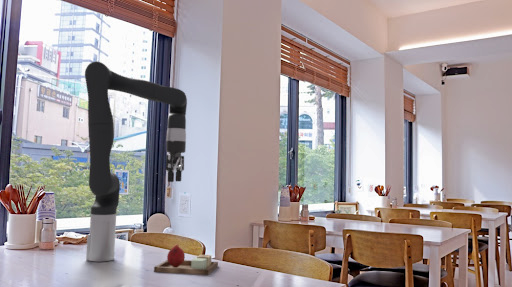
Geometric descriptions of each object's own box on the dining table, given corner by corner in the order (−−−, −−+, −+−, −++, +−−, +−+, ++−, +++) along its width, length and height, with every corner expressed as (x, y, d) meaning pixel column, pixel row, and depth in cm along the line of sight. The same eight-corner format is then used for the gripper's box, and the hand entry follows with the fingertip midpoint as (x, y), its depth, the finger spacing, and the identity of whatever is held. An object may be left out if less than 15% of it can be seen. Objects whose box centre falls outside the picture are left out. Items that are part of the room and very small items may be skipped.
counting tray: (153, 276, 141) (154, 266, 141) (168, 267, 153) (168, 259, 154) (207, 279, 138) (207, 270, 138) (217, 270, 150) (217, 262, 151)
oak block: (196, 268, 146) (196, 256, 146) (199, 266, 150) (200, 254, 150) (208, 269, 145) (208, 257, 146) (211, 266, 149) (211, 255, 150)
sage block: (191, 272, 140) (191, 260, 140) (194, 270, 144) (195, 257, 144) (202, 273, 140) (203, 260, 140) (206, 270, 143) (206, 258, 144)
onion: (180, 270, 143) (181, 245, 144) (164, 269, 144) (165, 244, 145) (186, 266, 149) (187, 243, 149) (170, 265, 150) (171, 242, 150)
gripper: (173, 141, 179) (171, 181, 178) (160, 138, 165) (158, 181, 164) (190, 141, 177) (189, 181, 176) (179, 139, 163) (177, 182, 162)
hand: (174, 181), depth 170 cm, fingers open, 8 cm apart
